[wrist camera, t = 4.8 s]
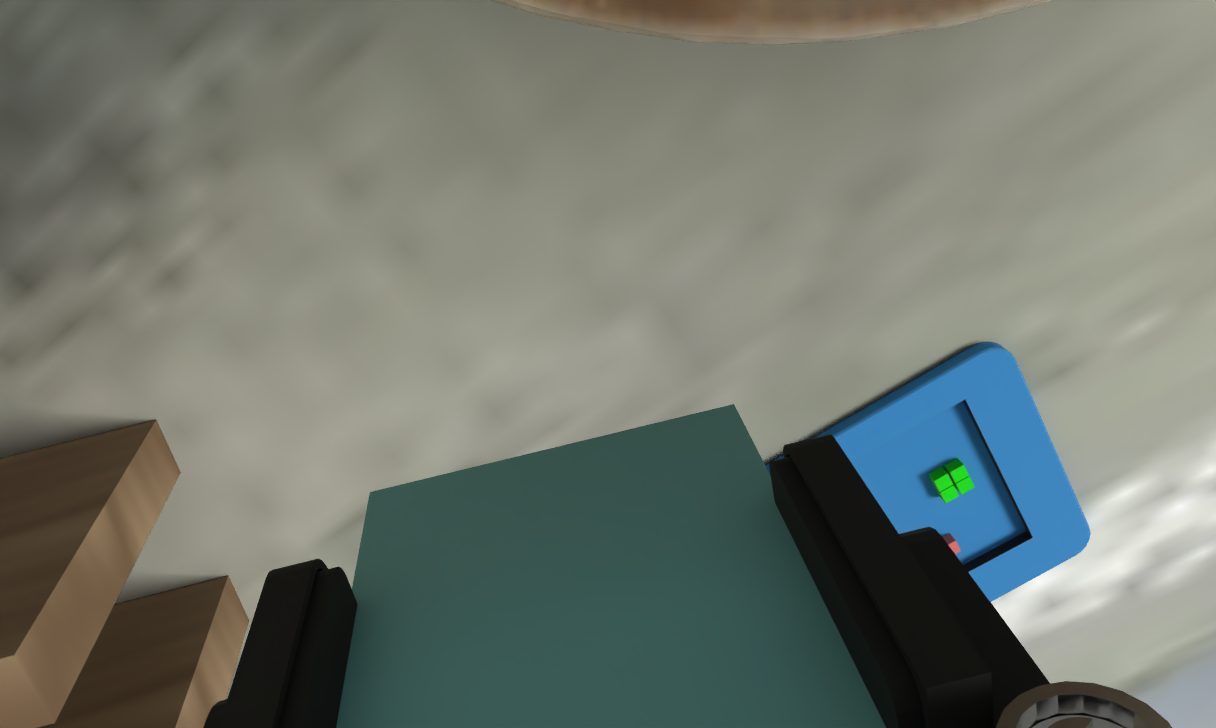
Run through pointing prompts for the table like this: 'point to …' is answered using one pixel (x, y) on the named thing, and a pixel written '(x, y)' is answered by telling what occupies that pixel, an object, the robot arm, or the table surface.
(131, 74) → the table surface
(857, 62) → the table surface
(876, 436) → the handheld gaming device
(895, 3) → the plant pot
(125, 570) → the walnut domino
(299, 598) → the robot arm
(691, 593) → the domino teal end
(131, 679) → the walnut domino
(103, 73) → the table surface
